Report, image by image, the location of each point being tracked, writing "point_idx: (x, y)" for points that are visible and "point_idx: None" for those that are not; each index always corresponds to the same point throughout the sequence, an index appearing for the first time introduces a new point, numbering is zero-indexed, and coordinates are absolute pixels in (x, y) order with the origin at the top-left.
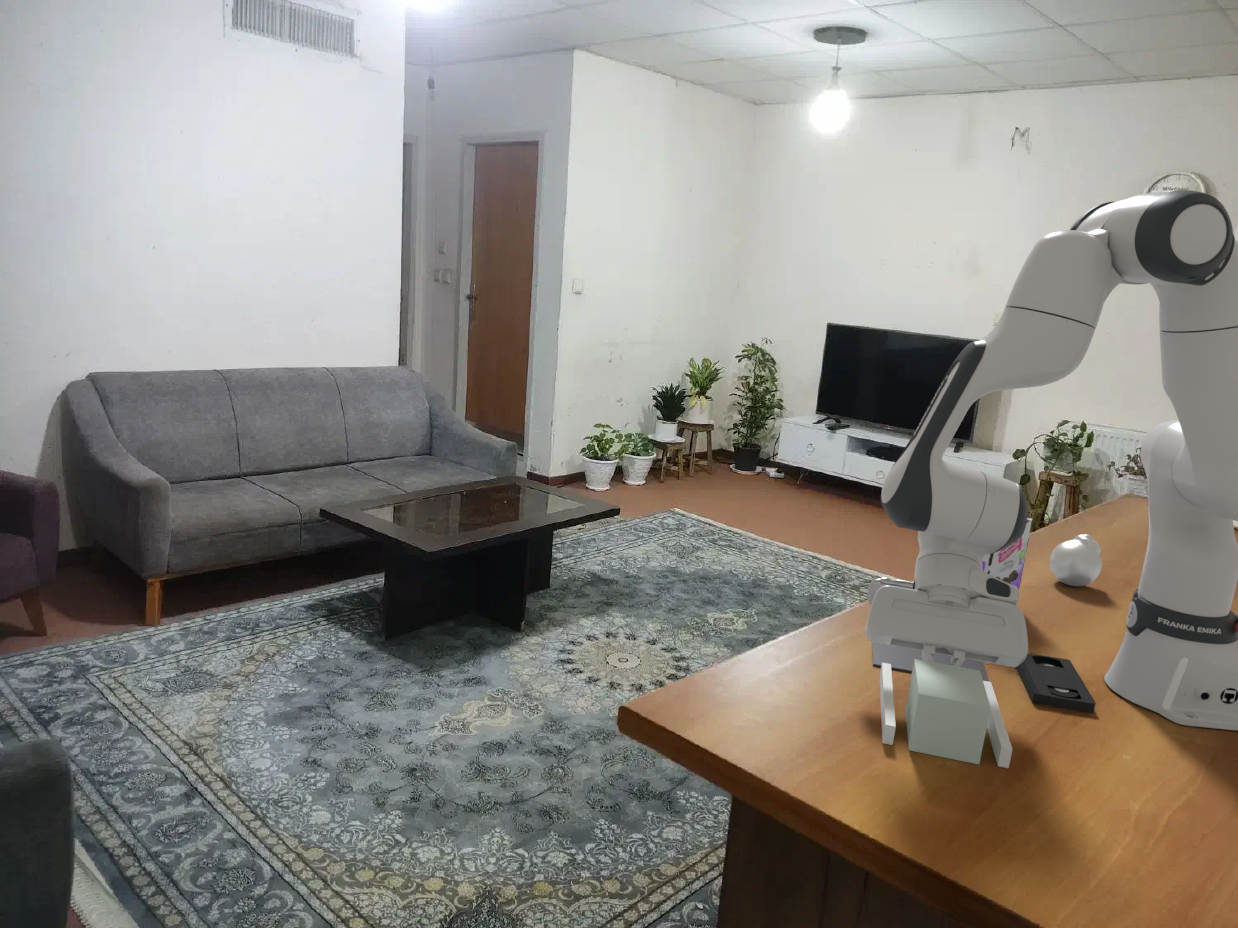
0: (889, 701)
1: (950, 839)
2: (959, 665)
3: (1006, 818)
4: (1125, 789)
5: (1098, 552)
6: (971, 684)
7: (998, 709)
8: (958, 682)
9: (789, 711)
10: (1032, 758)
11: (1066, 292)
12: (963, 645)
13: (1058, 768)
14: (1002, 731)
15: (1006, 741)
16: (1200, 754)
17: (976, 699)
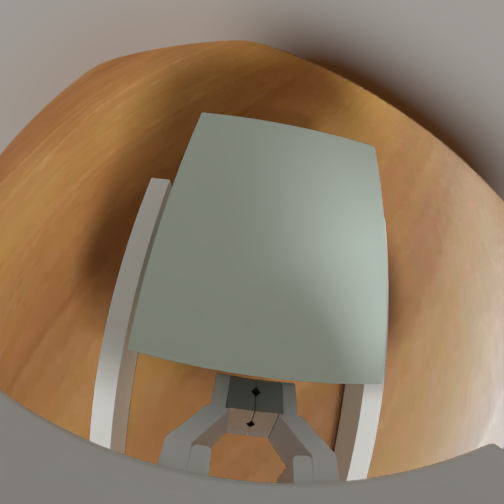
0: None
1: (292, 80)
2: (191, 420)
3: (219, 104)
4: (28, 192)
5: None
6: (206, 219)
7: (104, 347)
8: (252, 222)
9: (478, 298)
10: (100, 241)
11: None
12: (164, 476)
13: (76, 220)
14: (137, 239)
15: (149, 201)
16: None
17: (226, 136)
